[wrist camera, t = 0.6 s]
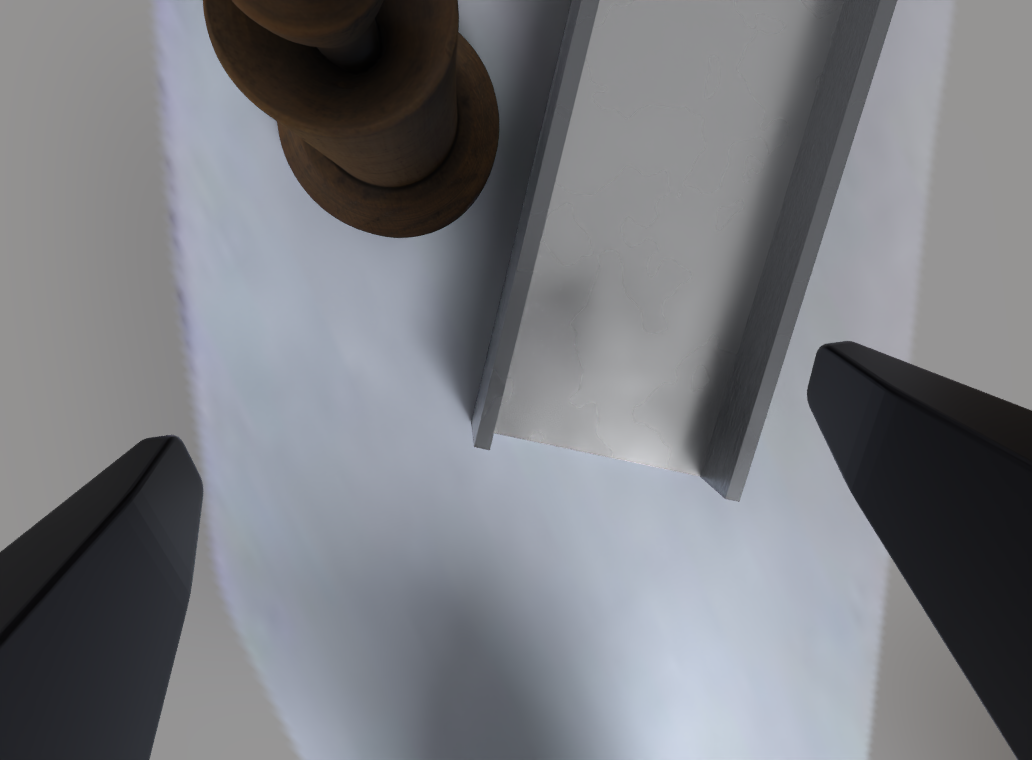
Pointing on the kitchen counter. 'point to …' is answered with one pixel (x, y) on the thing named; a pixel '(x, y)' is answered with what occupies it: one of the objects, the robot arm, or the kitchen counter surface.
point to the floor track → (675, 225)
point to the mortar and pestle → (367, 103)
